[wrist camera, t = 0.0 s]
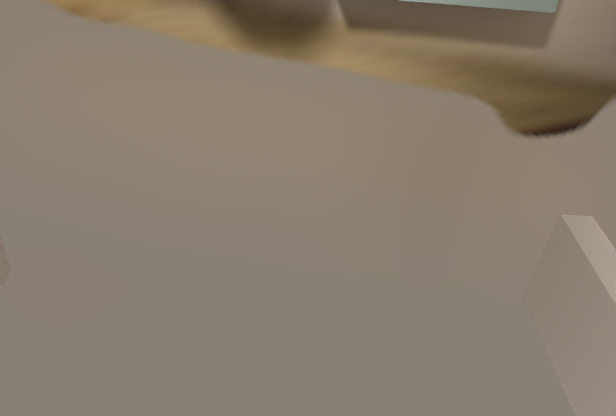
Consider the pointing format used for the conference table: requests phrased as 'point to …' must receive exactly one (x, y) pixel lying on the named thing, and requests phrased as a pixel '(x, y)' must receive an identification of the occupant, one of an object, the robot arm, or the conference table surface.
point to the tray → (502, 4)
